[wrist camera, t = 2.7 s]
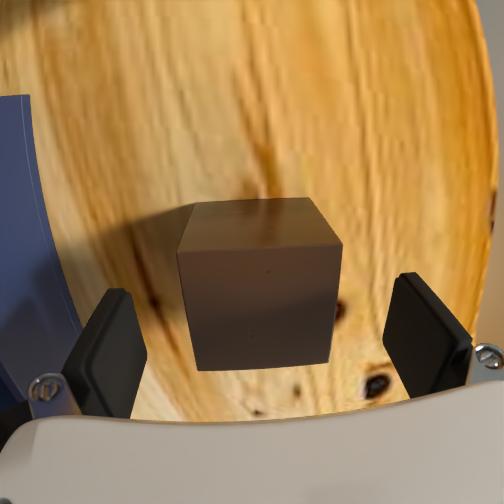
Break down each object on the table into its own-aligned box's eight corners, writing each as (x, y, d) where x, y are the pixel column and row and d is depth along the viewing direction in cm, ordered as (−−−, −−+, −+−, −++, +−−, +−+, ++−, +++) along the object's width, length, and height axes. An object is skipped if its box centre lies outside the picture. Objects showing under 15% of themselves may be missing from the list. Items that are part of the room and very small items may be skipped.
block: (195, 202, 14) (175, 252, 9) (309, 197, 14) (343, 243, 9) (206, 299, 16) (197, 371, 12) (306, 293, 16) (328, 363, 12)
